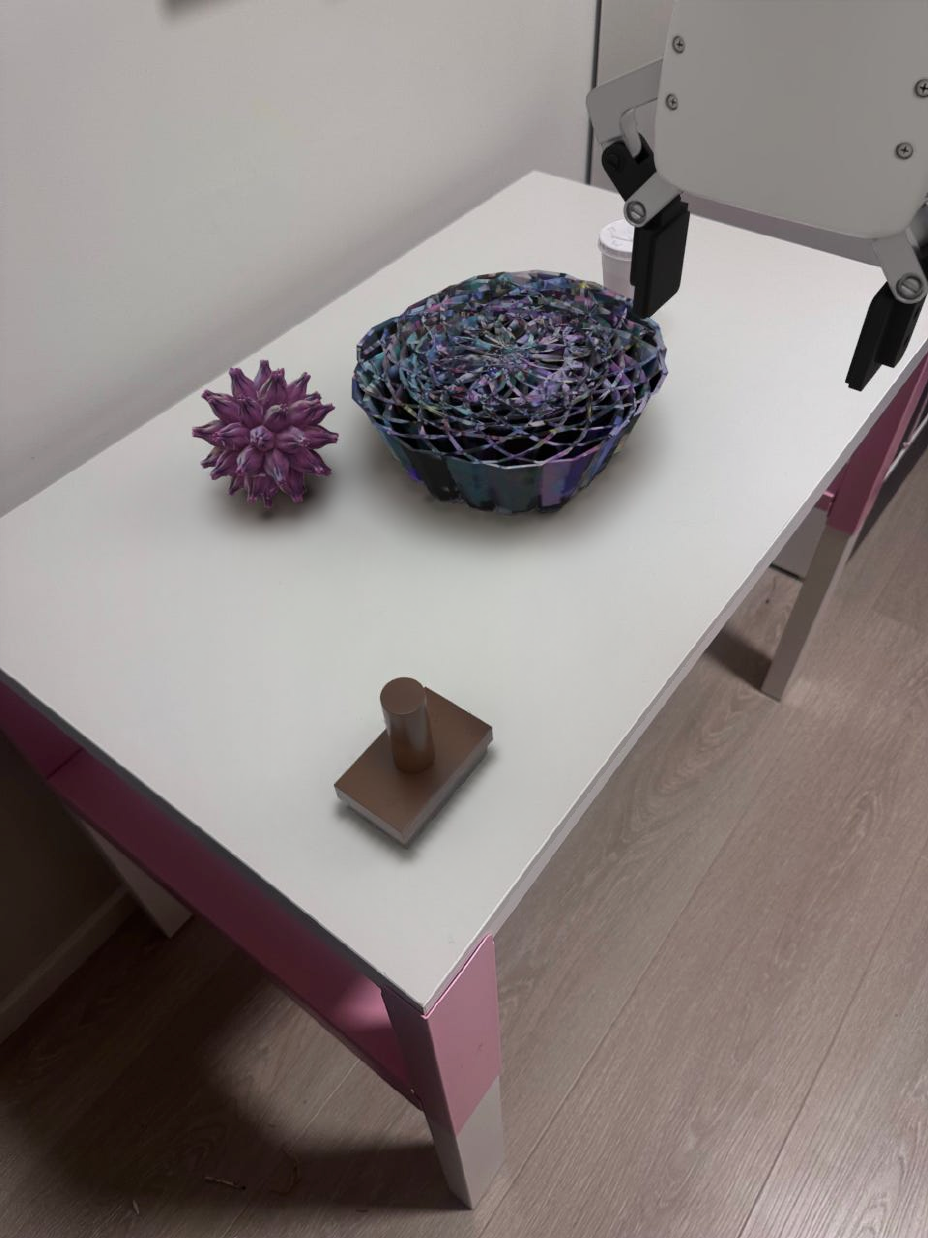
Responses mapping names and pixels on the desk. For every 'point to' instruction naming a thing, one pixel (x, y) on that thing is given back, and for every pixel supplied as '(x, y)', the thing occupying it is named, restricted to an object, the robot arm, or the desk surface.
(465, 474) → the decorative bowl
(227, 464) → the flower
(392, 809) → the stamp
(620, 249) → the smoothie
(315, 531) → the desk surface
